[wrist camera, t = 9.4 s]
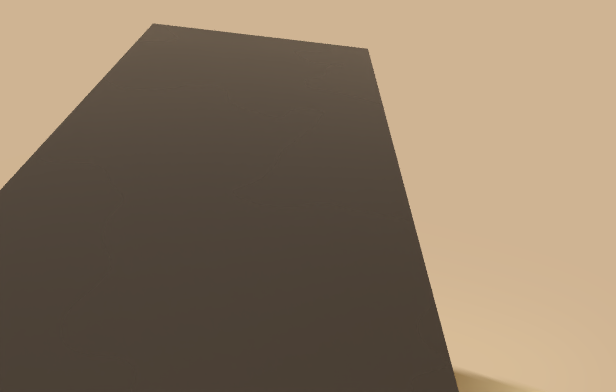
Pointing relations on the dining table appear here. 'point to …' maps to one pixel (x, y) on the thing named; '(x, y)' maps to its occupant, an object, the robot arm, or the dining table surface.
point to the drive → (218, 231)
